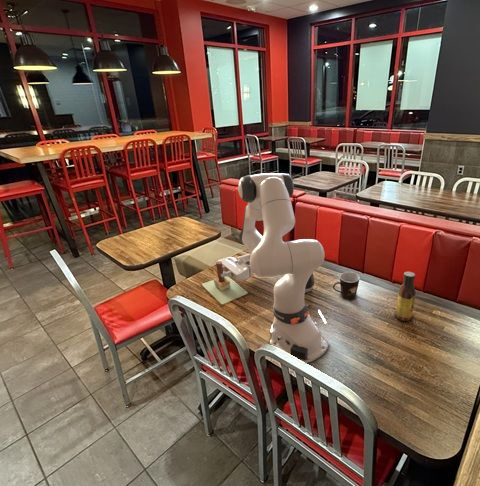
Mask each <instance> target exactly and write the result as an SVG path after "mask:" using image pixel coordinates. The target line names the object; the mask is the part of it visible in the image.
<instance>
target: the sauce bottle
mask: <svg viewBox="0 0 480 486" xmlns="http://www.w3.org/2000/svg"><path fill="white" fill-rule="evenodd" d="M415 279H416V274H415V272H412V271H405V272H404V273H403V281H402V284H401V285H400V287H399V289H398V294H397V301H396V309H395V317H396V318H397V319H398V320H400V321H402V322H409V321H411V320H412V318H413V314H414V310H415V309H414V308H415V302H416V294H417V291H416V288H415Z"/></svg>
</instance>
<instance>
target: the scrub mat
mask: <svg viewBox="0 0 480 486" xmlns="http://www.w3.org/2000/svg"><path fill="white" fill-rule="evenodd" d="M217 278H218V277H217ZM217 278H215V279H217ZM224 278H226V279H227V280H228V281H230V286H231V287H230V288H227V289H225V290H223V291H221V290H220V289H219V288H217V287H216V286H215V285H214V279H212V280H211V279H210V280H209V281H206V282H203V283H201V286H202V287H203V288H204V289H205V290H206V291H207V292H208V293H209V294H210V295H211V296H212V297H213V298H214V299H215V300H216V301H217V302H218V303H219V304H220V305H225V304H227V303H229V302H231V301H234V300H236V299H238V298H241V297H243V296H246V295H247V294H249V292H248V291H247V290H246V289H244V288H243V287H242V286H240V285H239V284H238V283H237V282H236V281H234V279H232V277H231V276H226V277H224Z"/></svg>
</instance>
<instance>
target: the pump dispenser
mask: <svg viewBox="0 0 480 486" xmlns="http://www.w3.org/2000/svg"><path fill="white" fill-rule="evenodd" d="M314 286H315V277H314V273H313V274H312V275H311V276H310V278H309V280H308V281H307V284H306V287H305V294H306V293H309V292H310V291H312V290H313V288H314Z"/></svg>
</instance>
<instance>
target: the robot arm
mask: <svg viewBox="0 0 480 486" xmlns="http://www.w3.org/2000/svg"><path fill="white" fill-rule="evenodd" d="M294 188H295V184H294V180H293V178H292V177H291V175H290V174H289V173H283V172H280V173H257V174H251V175H250V174H249V175H245V176H242V177H241V178H239V181H238V186H237V191H238V195H239V197H240V199H241V201H243V202H244V203H247V205H246V206H245V208H244V212H243V220H242V227H241V231H240V233H239V241H240V243H241V244H243V246H245V248H247V249H248V251H249V253H246V254H242V255H240V256H237V258H236V257H233V256H227V257H226V256H225V257H223V258H219V260H218V261H221V262H222V266H223V272H222V273H220V276H221V277H226V276H228V277H231V278H233V280H236V281H237V282H242V281H246V280H247V279H250V278H252V277H254V275H256V276H257V277H264V278H273V277H279V276H282V277H280V278H279V279H278V280H277V281H276V282H275V284H274V286H273V305H272V311H273V321H272V325H271V328H270V333H271V339H269V340H270V341H269V345H270V344H271V345H275V346H277V347H279V348H281V349H283V350H285V351H286V352H288V353H290V354H291V355H293V356H295V357H297V358H298V359H300V360H302V361H304V362H306V363H305V364H308V363H311V362H314V361H315V360H318V359H319V358H320V357H321V356H323V355H324V354H325V353H326V352H327V350H328V348H329V344H328V342H327V341H326V340H325V339H324V338H323V337H322V334H321V331H320V330H319V323H318V322H317V321H313V319H312V318H311V315H310V310H309V311H308V308H307V307H308V306H307V305H306V302H305V296H306V295H305V294H306V293H305V287H306V284H307V281H308V280H309V278H310V276H311V275H312V274H313V275H314V273H315V271H317V269H319V268H320V267H321V266H323V263H324V261H325V257H326V253H325V249H324V246H323V244H321V242H320V241H319V240H317V239H312V238H311V239H310V238H307V239H306V238H302V239H295V240H289V241H284V240H283V237H284V236H285V235H287V234H289V232H291V231H292V230H293V229H294V228H295V225H296V217H295V213H294V209H293V205H292V201H291V197H292V196H293V194H294V190H295V189H294ZM256 221H257V222H260V221H262V222H263V234H261V233H260V232H259V231H258V230H257V228H256ZM215 273H216V274H218V273H217V269H216V270H215ZM318 314H319V315H320V317H321V319H322V322H324V324H327V321H326V318H325V317H324V315H323V314H322V312H321V310H320V309H318Z"/></svg>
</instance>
